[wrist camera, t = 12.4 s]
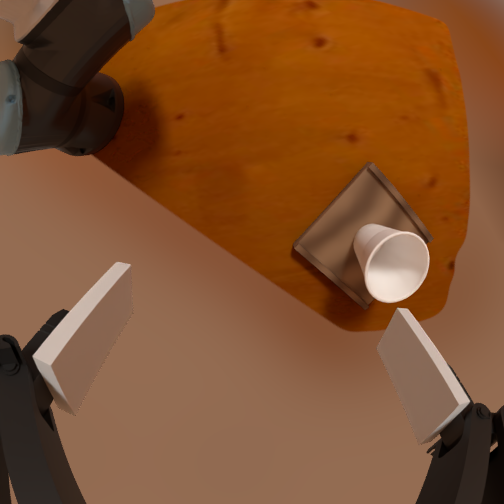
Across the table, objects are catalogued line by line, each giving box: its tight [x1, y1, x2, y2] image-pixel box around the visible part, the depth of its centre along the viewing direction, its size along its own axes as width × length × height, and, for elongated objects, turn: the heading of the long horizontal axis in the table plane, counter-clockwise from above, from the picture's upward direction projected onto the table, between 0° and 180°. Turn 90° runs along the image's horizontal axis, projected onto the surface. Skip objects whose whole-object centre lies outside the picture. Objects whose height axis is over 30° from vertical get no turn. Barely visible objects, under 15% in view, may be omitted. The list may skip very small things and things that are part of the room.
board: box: [293, 162, 434, 310], centre depth 41 cm, size 18×18×2 cm
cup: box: [353, 224, 429, 303], centre depth 36 cm, size 10×10×11 cm
